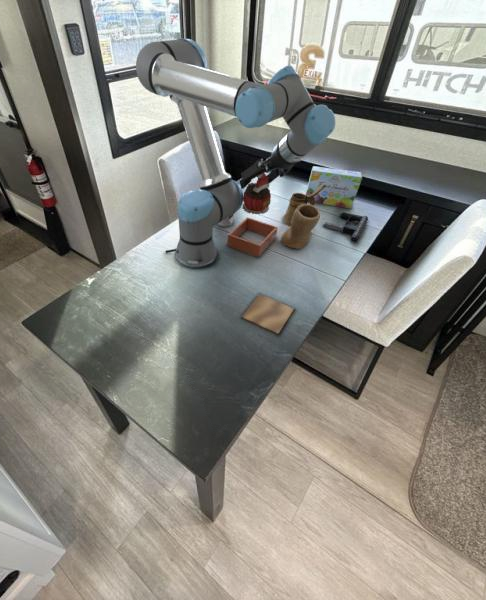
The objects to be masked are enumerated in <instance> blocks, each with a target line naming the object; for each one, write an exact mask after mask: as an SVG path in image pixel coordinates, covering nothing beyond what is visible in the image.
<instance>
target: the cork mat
mask: <svg viewBox="0 0 486 600" xmlns="http://www.w3.org/2000/svg"><path fill="white" fill-rule="evenodd" d="M294 311H295V308H294V307H291V306H289V305H287V304H285V303H282V302H279V301H277V300H275V299H272V298H271V297H268V296H265V295H264V294H260V293H259V294H258V295H257V296H256V298H255V299H254V300H253V302H252V303H251V304H250V306H249V307H248V308H247V309H246V311H245V312H244V313H243V315H242V316H241V318H242V319H244V320H246V321H248V322H250V323H253V324H255V325H256V326H258V327H261V328H263V329H265V330H268V331H270V332H272V333H274V334H276V335H280V332H281V331H282V329H283V328H284V327H285V325H286V323H287V322H288V320H289V318H290V316H291V315H292V313H293V312H294Z"/></svg>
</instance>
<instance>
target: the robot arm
mask: <svg viewBox="0 0 486 600" xmlns="http://www.w3.org/2000/svg"><path fill="white" fill-rule="evenodd" d="M135 73H136V75H137V79H138V80H139V82H140V84H141V86H142V87H143V88H144V89H145V90H147V91H148V92H150V93H152V94H154V95H157V96H161V97H163V98H167V97H169V100H170V101H171V102H173V103H175V104H176V105H177V108H178V111H179V114H180V118H181V121H182V124H183V127H184V129H185V133H186V136H187V138H188V142H189V145H190V148H191V151H192V154H193V158H194V160H195V164H196V166H197V169H198V172H199V175H200V178H201V182H200V184H199V189H196V190H194V189H193V190H189V191H187V192H184V194H181V196H180V197H179V199H178V203H177V216H178V217H177V218H178V231H179V239H178V243H177V245H176V248H172V249H166V250H165V254H169V253H174V252H175V258H176V261H177V262H178V263H179V264H180V265H182V266H183V267H185V268H190V269H203V268H206V267H209V266H211V265H212V264H214V263H215V262H216V260H217V258H218V251H217V247H216V245H215V244H216V243H215V242H214V239H213V234H214V233H213V232H214V227H215V226H216V225H218V223H220V222H221V221H223V220H224V219H226V218H228V217H230V216H232V215H233V216H234V215H235V214H236V213H237V212H238V211H240V209H241V207H243V204H244V202H243V196H244V191H243V190H245V189H246V188H247V186H248V184H250V183H252V180H253V179H255V178H258V177H257V176H259V175H261V174H263V173H265V174H266V176H267V177H269V179H270V183H269V184H271V183H273V182H274V181H275V180H276V179H277V178H282V177H284V176H285V175H284V174H288V173H289V172H290V171H291V170H292V168H293V167H294V166H295V165H296V164H297V163H298V162H301V161H302V158H304V157H305V156H306V155H308V154H309V153H311V152H312V151H313V150H314V149H316V148H317V147H318V146H319V145H321V144H322V143H323V142H324V141H325V140H327V138H328V137H329V136H330V135H331V134H332V133H333V132H334V130H335V128H336V115H335V114H334V112H333V110H332V109H329V108H328V106H327V105H325V104H318V105H316V104H315V102H314V101H313V99H312V97H311V94H309V91H308V90H307V87H306V85H305V84H304V82H303V80H302V76H300V74H299V73H298V72H297V70H296V69H295V67H294V66H293V65H290V64H289V65H285V66H283V68H280V69H279V70H277V71H276V72H275V73H274V74H273V75H272V76H271V78H270V79H269V80H268V82H267V84H261V83H256V82H253V81H249V80H245V79H244V78H243V79H242V78H240V77H236V76H232V75H228V74H226V73H221V72H218V71H214V70H211V69H208V62H207V58H206V54H205V52H204V50H203V48H202V46H201V45H200V44H199V43H197V42H196V41H194V39H190V38H183V37H182V38H181V37H180V38H177V39H169V40H161V41H160V40H159V41H151V42H149V43H146V44H145V45H144V46H143V47H142V48H141V49H140V50H139V52H138V54H137V57H136V60H135ZM208 109H212V110H214V111H217V112H221V113H223V114H226V115H229V116H232V117H235V118H236V119H237V120H238V122H239V123H240V124H241V126H242V127H244V128H247V129H254V128H260V127H263V126H264V125H267V124H269V123H271V122H274V121H275V120H278V119H281V118H283V120H284V121H285V123H286V125H287V127H288V128H289V130H290V131H289V132H287V134H286V135H285V136H284V137H283V138H281V140H279V142H278V143H277V144H276V145H274V147H273V149H272V150H271V154H270V156H269V157H268V158H266V159H265V160H263V161H262V159H263V158H259V159H258V160H257V161H256V162H255V163H254V164H252V165H251V166H249V167H248V168H247V169H245V170H244V171H242V172H241V173H240V176H241V179H240V180H239V184H238V182H237V181H236V180H234V179H233V177H232V175H231V174H230V173H229V172H226V170H225V166H224V162H223V159H222V156H221V153H220V149H219V145H218V141H217V138H216V136H215V131H214V128H213V125H212V122H211V121H212V120H211V118H210V115H209V112H208Z"/></svg>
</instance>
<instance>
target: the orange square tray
mask: <svg viewBox="0 0 486 600" xmlns="http://www.w3.org/2000/svg"><path fill="white" fill-rule="evenodd" d="M278 228H279V227H278V226H275V225H273V224H270V223H266V222H263V221H261V220H257V219H253V218H251V217H248V216H246V217H245V218H244V219H243V220H242V221H241V222H240V223H239V224H238V225H237V226H235V228H233V229H232V230H231V231H230V232H229V233H228V234H227V244H226V246H227V247H230V248H233V249H235V250H238V251H240V252H243V253H246V254H248V255H251V256H254V257H256V258H260V256H261V255H263V254H264V252H265V251H266V250H267V248H268V247H269V246H270V245H271V244H272V243H273V242H274V240H276V238H277V234H278ZM247 230H248V231H251V232H254V233H256V234H260V235H263V236H264V237H265V236H266V237H265V238H264V239H263V240H262V241H261V242H260V243H256V242H254V241H250V240H248V239H245V238H243V237H241V235H242V234H244V232H246V231H247Z"/></svg>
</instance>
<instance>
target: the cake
mask: <svg viewBox="0 0 486 600" xmlns="http://www.w3.org/2000/svg"><path fill="white" fill-rule="evenodd" d="M261 159H262V161H264V158H261ZM256 178H257V180H256V182H250V183H249V184H248V185H247V186H246V187H245V189H244V191H243V203H242V210H243V211H244V212H245V213H247V214H252V215H264V214H266V213H269V210H270V205H271V202H272V201H271V200H272V193H271V190H270V184H271V183H270V179H269V177H267V174H266V173H263V174H261V175H259V176H257V177H256Z"/></svg>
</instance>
